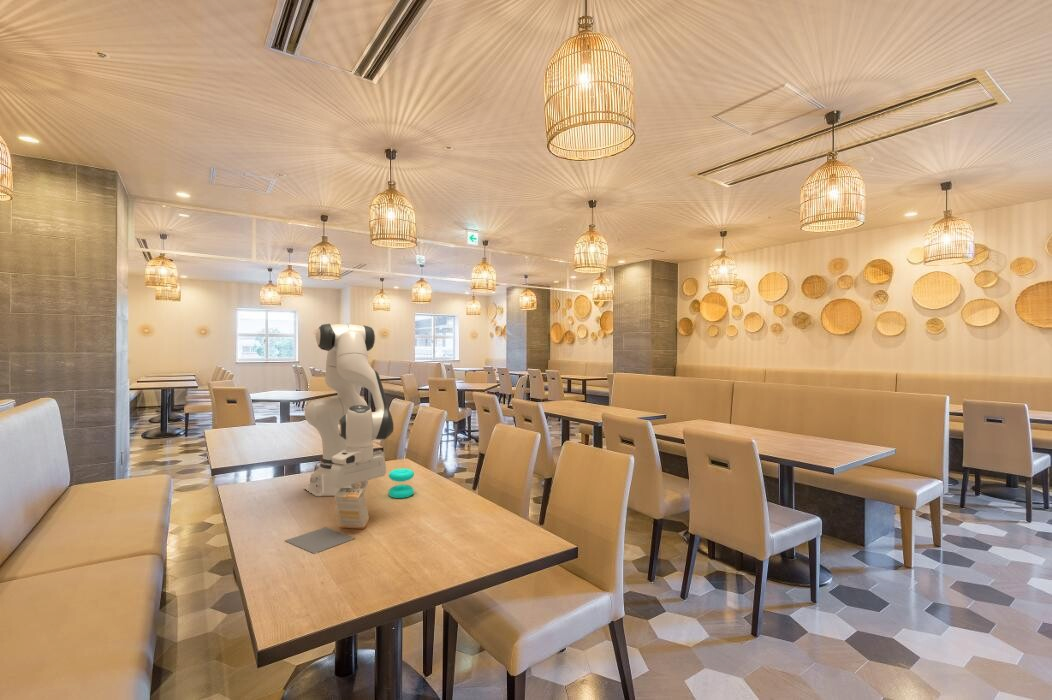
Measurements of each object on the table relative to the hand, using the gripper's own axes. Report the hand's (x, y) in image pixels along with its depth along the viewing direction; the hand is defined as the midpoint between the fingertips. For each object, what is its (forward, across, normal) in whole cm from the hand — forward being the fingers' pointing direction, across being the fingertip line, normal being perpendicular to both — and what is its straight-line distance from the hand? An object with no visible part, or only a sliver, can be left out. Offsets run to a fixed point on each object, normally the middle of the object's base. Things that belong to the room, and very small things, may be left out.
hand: (359, 494), depth 164 cm
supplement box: (+10, +1, 0) cm, 10 cm away
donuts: (+10, -31, -14) cm, 36 cm away
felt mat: (+10, +15, 0) cm, 18 cm away
